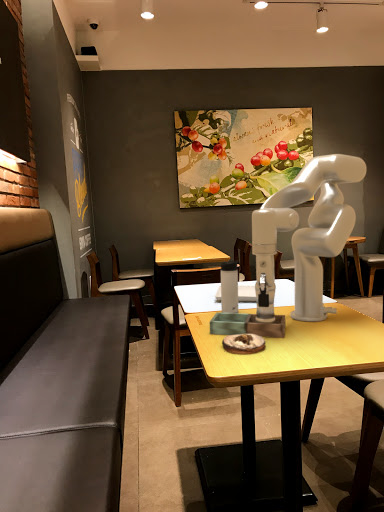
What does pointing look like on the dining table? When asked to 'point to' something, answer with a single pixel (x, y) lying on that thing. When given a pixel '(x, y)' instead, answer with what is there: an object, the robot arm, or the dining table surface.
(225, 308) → the travel mug
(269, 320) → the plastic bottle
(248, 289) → the salad plate
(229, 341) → the sushi roll
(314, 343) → the dining table surface
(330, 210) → the robot arm
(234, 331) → the dock
